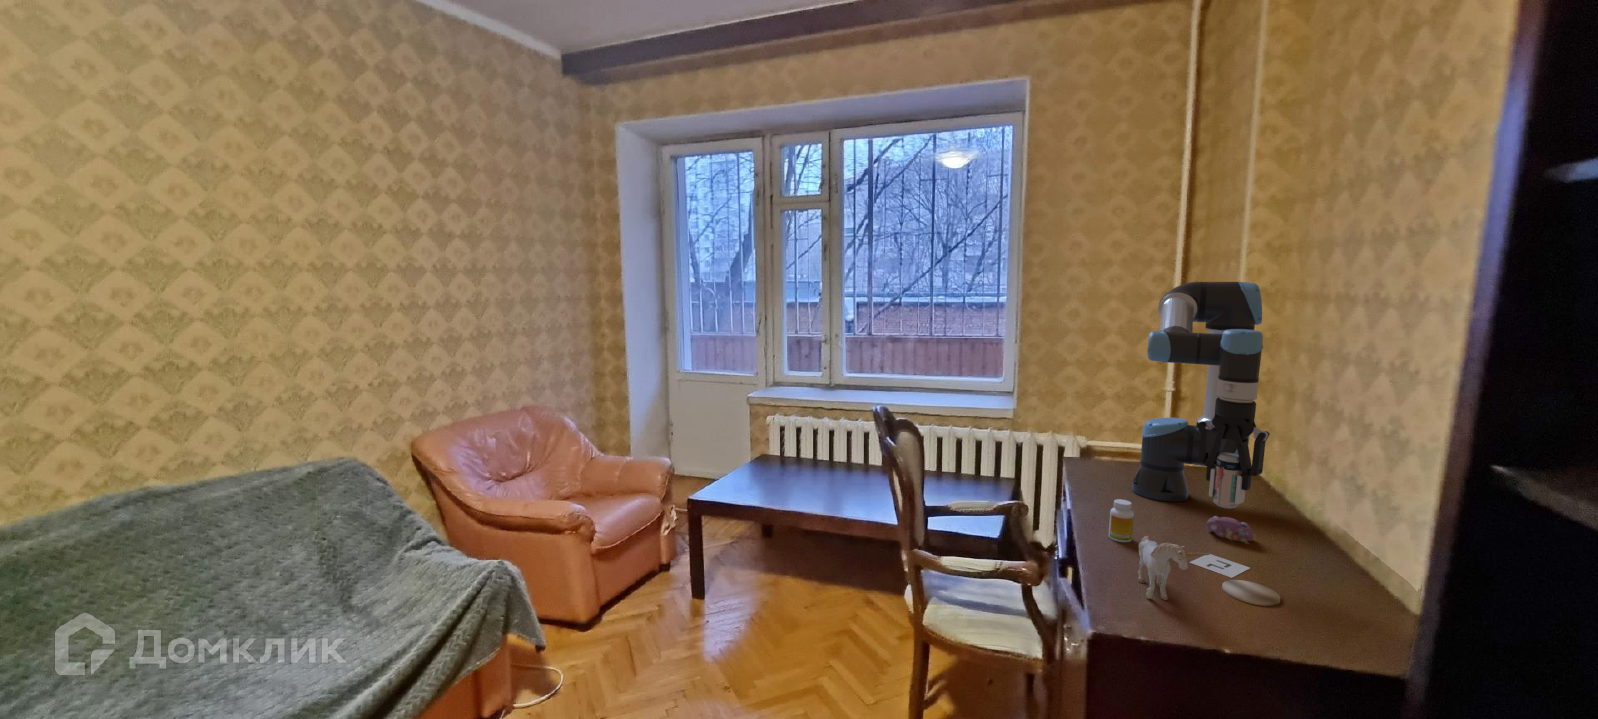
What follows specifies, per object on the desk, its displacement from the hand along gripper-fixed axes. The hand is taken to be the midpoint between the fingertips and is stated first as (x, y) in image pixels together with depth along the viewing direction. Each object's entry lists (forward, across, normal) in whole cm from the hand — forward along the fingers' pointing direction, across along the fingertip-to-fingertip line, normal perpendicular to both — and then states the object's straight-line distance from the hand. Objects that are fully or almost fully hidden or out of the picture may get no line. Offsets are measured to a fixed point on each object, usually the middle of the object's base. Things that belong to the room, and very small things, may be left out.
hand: (1226, 498), depth 146 cm
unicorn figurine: (+16, +1, -25) cm, 29 cm away
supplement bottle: (+16, -21, -6) cm, 27 cm away
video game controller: (+17, -6, +18) cm, 25 cm away
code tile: (+16, 0, -1) cm, 16 cm away
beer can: (+2, 0, 0) cm, 2 cm away
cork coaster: (+16, +10, -10) cm, 21 cm away
